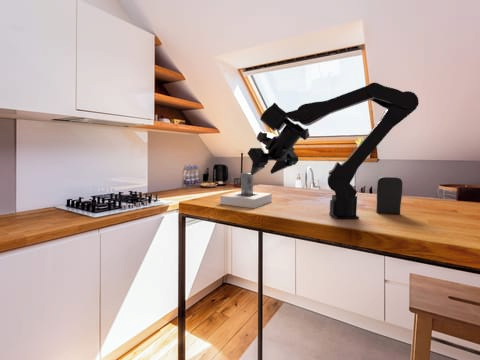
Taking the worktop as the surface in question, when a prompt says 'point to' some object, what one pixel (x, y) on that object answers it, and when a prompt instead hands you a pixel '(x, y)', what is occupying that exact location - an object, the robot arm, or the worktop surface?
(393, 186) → the battery
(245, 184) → the translucent grey tall cylinder
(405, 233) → the worktop surface
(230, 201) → the hole block
